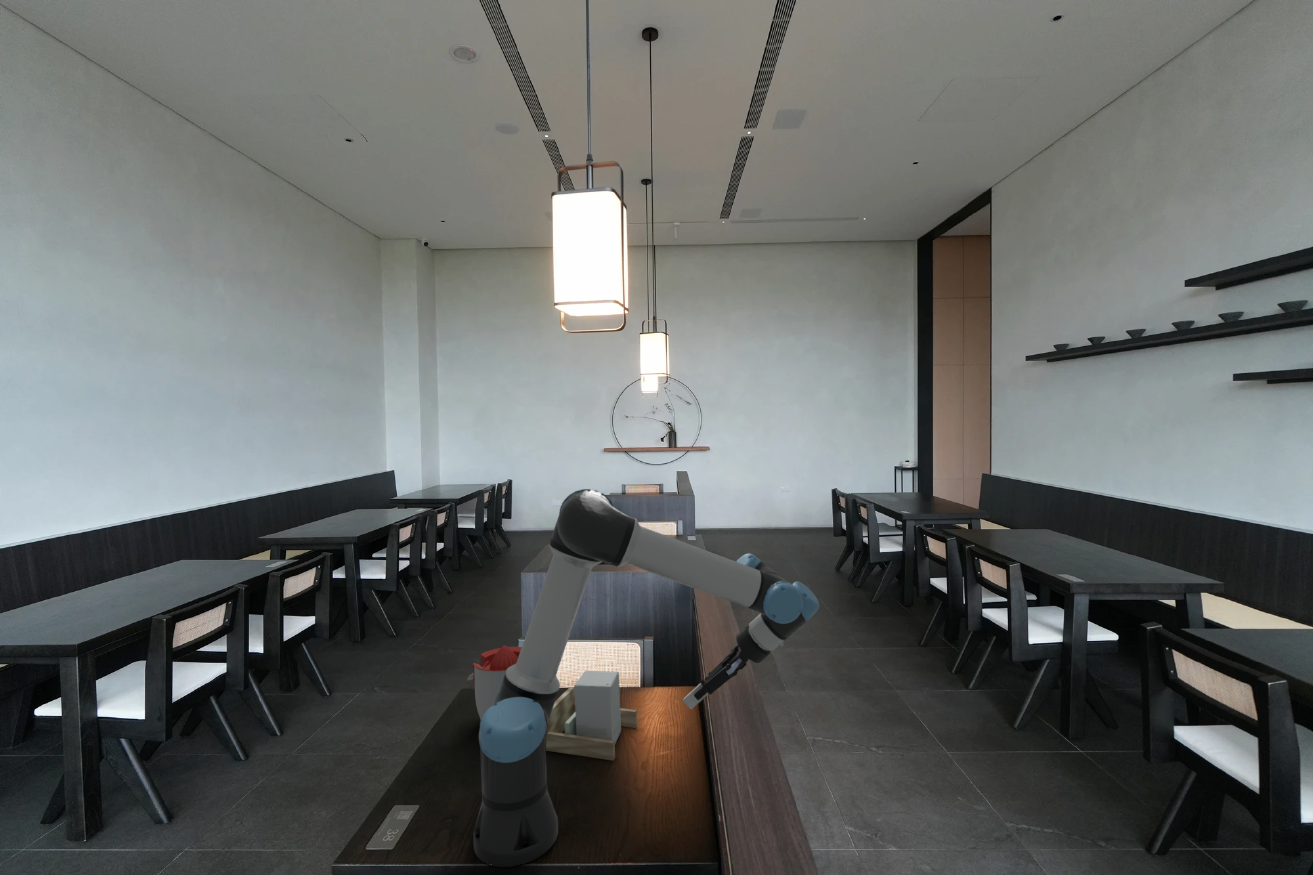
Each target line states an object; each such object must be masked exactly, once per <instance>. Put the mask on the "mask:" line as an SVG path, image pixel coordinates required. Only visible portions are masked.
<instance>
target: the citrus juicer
mask: <svg viewBox="0 0 1313 875" xmlns="http://www.w3.org/2000/svg"><path fill="white" fill-rule="evenodd" d="M521 648H522V646H507V645H502V647H498V648H494V649H490V650H487V651H485V652H483V653H481V654H480V664H479V663H474V662H473V663H472V673H471V674H470V675H469V676H467V681H472V680H473V684H474V698H475V705H476V709H477V713H478V717H479V721H481V719H482V717H483V715H484V713H485V712H486V711H487V710H488V709H489V708H490V707H491V706H494V703H495V699H496V696H497V693H498V692H499V690H500V687H501V684H502V681H503V679H504V676H505V673H506V670H507V669H508V668H509V667H510V666H512V665H514V664H516V663H517V660H518V657H519V654H520V651H521Z"/></svg>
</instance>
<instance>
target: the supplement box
mask: <svg viewBox="0 0 1313 875" xmlns="http://www.w3.org/2000/svg"><path fill="white" fill-rule="evenodd" d="M573 687H574V690H575V710H576V733H577V736H584V737H591V738H598V739H605V740H613V741H615V744H617V740H618V739H619V736H620V735H621V732H622V726H621V716H620V708H621V701H620V700H621V699H620V698H621V694H620V673H619V671H606V670H605V671H603V670H585V671H583V672H582V675H581V676H580V677H579V678H578V680H577V681H576V683H575V684H574V686H573Z"/></svg>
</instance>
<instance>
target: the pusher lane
mask: <svg viewBox="0 0 1313 875" xmlns="http://www.w3.org/2000/svg"><path fill="white" fill-rule="evenodd" d="M637 711H638V710H637V709H631V708H630V709H629V708H625V707H624V708H622V707H620V716H621V727H625V728H635V729H637V727H638V712H637ZM575 712H576V710H575V690H574V686H569V687H568V689H567V690H565V691H564V692H563V693H562V694H561V695H560V696H559V697H558V698H556V700H555V703H554V706H553V709H552V712H551V715H550V719H549V724H548V732H547V741H546V752H553V753H554V752H555V753H561V754H567V755H572V756H579V757H581V756H582V757H588V758H593V759H600V760H607V761H615V759H616V746H615V745H616V743H615V741H613V740H605V739H598V738H591V737H584V736H577V735H570V734H565V733H563V732H565V722H566V721H567V720H568V719H569V718H570V717H571V716H572V715H573V714H574V713H575Z"/></svg>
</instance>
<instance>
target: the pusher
mask: <svg viewBox="0 0 1313 875" xmlns="http://www.w3.org/2000/svg"><path fill="white" fill-rule="evenodd" d="M564 734H570V735H577V733H576V712H575V713H574V714H573V715H572V716H571V717H570V718H569V719H568V720H567V721H566V722H565V730H564Z"/></svg>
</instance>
